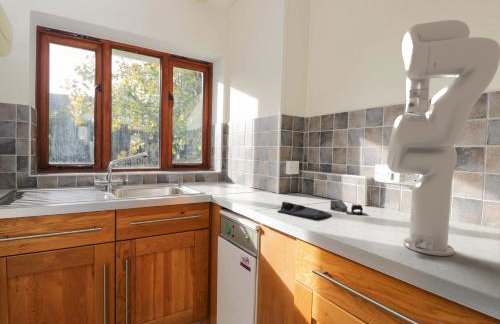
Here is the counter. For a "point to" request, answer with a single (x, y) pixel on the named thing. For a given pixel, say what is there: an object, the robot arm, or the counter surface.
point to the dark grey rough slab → (302, 211)
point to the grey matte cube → (338, 205)
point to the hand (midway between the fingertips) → (414, 141)
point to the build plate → (356, 207)
